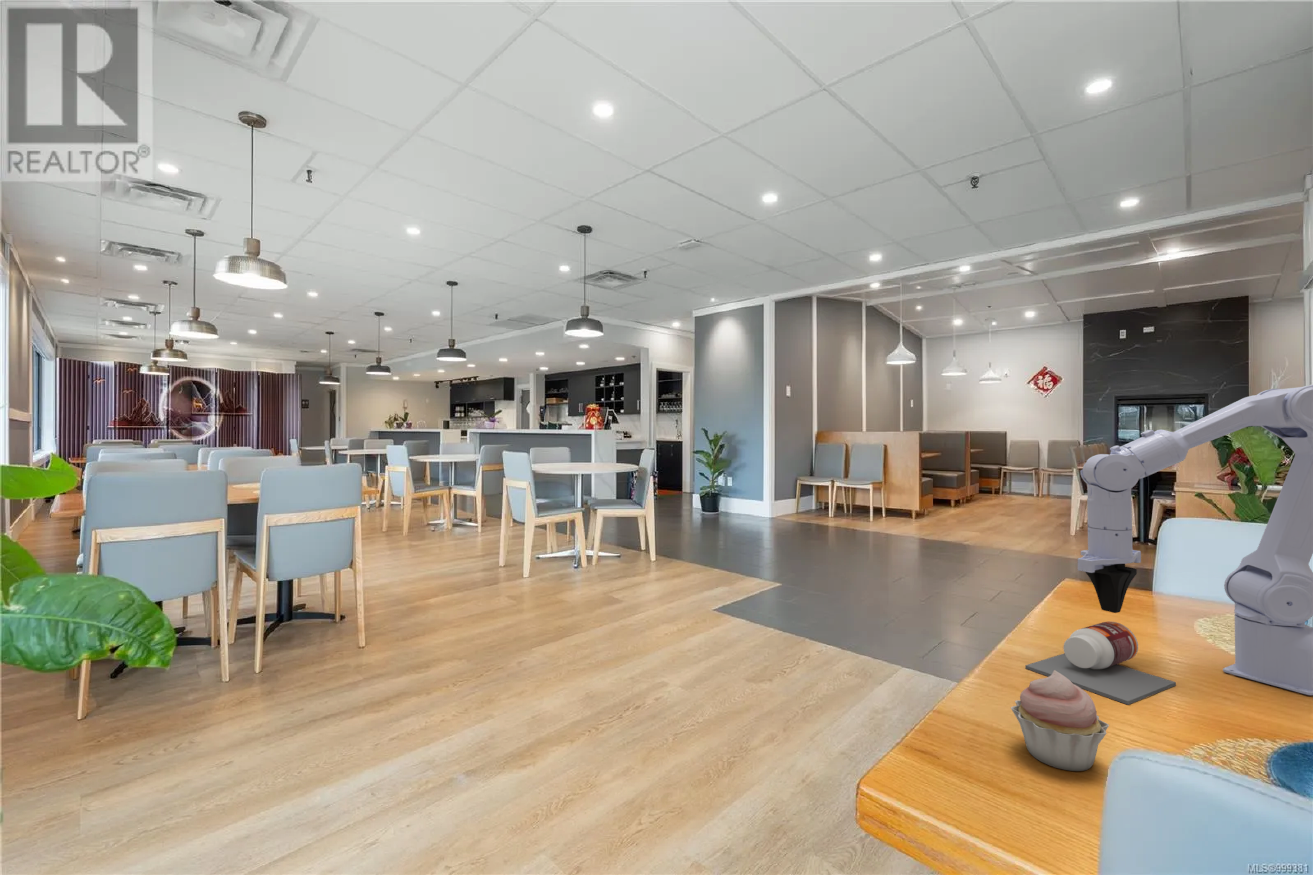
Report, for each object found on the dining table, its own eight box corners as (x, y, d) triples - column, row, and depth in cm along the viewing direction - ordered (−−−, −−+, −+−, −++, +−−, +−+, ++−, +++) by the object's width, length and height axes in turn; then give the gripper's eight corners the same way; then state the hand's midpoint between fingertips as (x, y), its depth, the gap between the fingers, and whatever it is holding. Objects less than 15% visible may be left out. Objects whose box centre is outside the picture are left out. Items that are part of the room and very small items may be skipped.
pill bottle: (1133, 621, 91) (1096, 632, 86) (1145, 661, 90) (1108, 676, 85) (1090, 619, 97) (1053, 630, 92) (1101, 658, 96) (1064, 671, 91)
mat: (1175, 685, 85) (1175, 682, 85) (1128, 704, 79) (1128, 701, 79) (1072, 653, 97) (1072, 650, 97) (1025, 668, 92) (1025, 665, 92)
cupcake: (1067, 734, 72) (1065, 654, 72) (1131, 778, 62) (1129, 687, 62) (994, 737, 72) (993, 657, 71) (1048, 782, 62) (1046, 690, 62)
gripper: (1106, 521, 100) (1107, 598, 100) (1056, 528, 94) (1058, 610, 94) (1155, 526, 94) (1156, 609, 94) (1105, 534, 87) (1107, 623, 87)
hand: (1110, 610), depth 93 cm, fingers closed
